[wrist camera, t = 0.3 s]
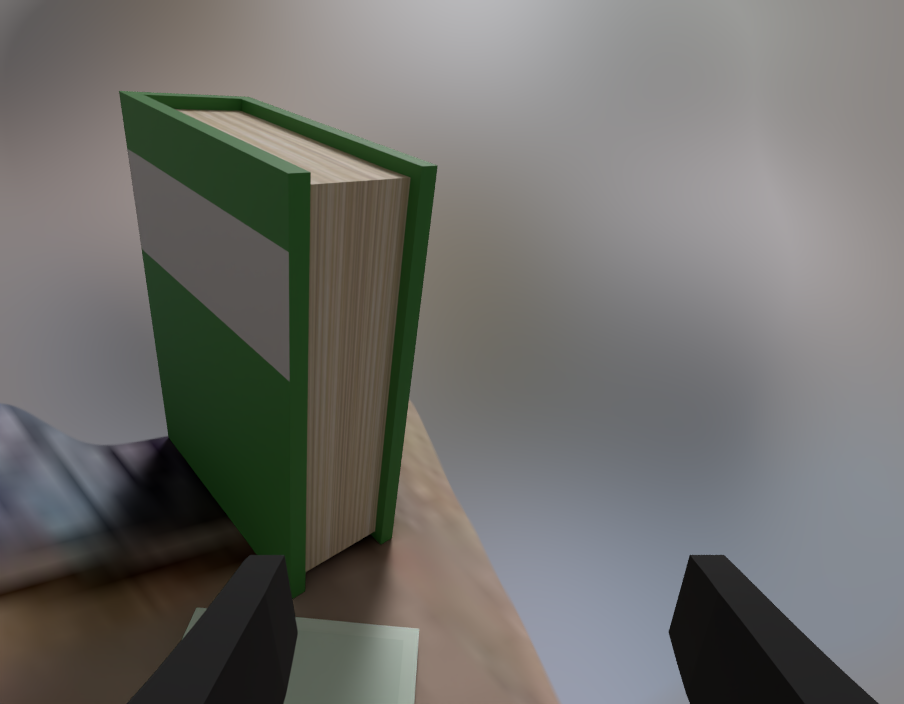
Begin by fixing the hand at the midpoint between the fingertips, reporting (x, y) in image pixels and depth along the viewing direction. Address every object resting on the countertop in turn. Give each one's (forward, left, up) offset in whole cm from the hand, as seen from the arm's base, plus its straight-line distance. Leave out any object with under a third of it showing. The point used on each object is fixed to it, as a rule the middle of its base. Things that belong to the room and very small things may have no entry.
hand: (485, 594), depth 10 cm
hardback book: (+23, +11, -21) cm, 33 cm away
